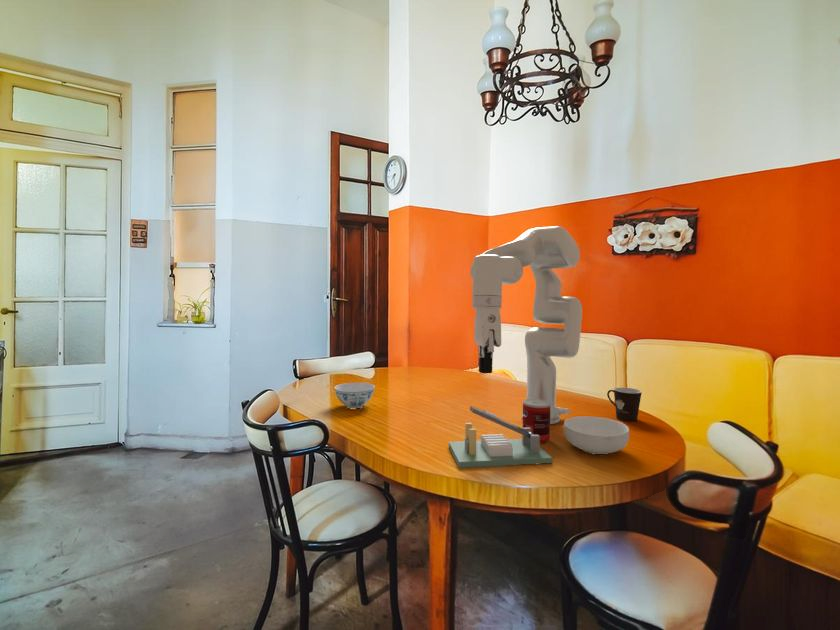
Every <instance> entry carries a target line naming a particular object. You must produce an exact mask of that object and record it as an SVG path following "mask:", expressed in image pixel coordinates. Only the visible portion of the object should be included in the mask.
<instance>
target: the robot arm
mask: <svg viewBox="0 0 840 630" xmlns="http://www.w3.org/2000/svg"><path fill="white" fill-rule="evenodd" d="M580 253H581V252H580V249H579V246H578V244H577V242H576V241H575V239H574V238H573V237H572V236H571V234H570V233H569V232H568V230H567V229H565V228H564V227H562V226H559V225H556V226H555V225H554V226H542V227H534V228H530V229H528V230H526V231H525V232H523V233H522V234H521V235H519V236H518V237H517V238H516V239H514V240H513V241H510V242H507V243H505V244H502V245H499V246H497V247H493V248H490V249H489V250H486V251H484V252H482V253H481V254H479V255H476V256H475V257H474V258H473V262H472V264H471V266H470V278H471V279H472V302H471V304H472V306H471V308H472V309H475V313H474V326H473V327H474V329H473V334H474V335H473V337H474V338H473V339H474V342H475V344H476V345H478V372H479V373H480V374H492V373H493V358H494V357H493V356H494V352H495V347H497V348H500V347H501V345H502V322H501V321H502V319H501V317H502V316H501V311H500V310H502V297H503V295H502V293H503V285H513V284H516V283H518V282H519V281H520V280H521V279H522V278H523V274H524V268H525V267H527V266H529V267H530V270H531V272H532V274H533V277H534V280H535V291H534V297H533V298H534V299H533V307H532V316H533V319H534V321H535V322H537V323H539V324H544V325H562V326H564V328H562V327H560V328H558V327H545V326H537V327H532V328H529V329H528V330H527V331H526V332H525V335H524V346H525V353H526V362H527V366H526V368H527V369H526V371H527V372H526V373H527V374H526V400H527V399H540V400H545V401H548V402H549V403H550V425H554V424H558V423H560V421H561V417H560V416H561V415H569V414H570V409H569V408H568V407H567V408H563V407H559V406H556V401H557V400H556V399H557V397H556V396H557V369H556V365H555V363H554V361H553V360H552V358H551V357H556V358H574V357H575V356H577V354H578V352H579V349H580V341H581V331H582V323H583V322H582V320H583V306H582V303H581V301H580V299H578V298H577V297H574V296H566V295H565V296H562V294H561V293H562V281H561V279H560V278H559V276H558V275H557V273H556V272H555V271H554V270H553V269H570V268H574V267H576V266H577V265H578V264H579V262H580V261H579V260H580V259H581V258H580V256H581V255H580ZM521 419H522V420H523V412H522V414H521Z"/></svg>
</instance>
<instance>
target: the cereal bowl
mask: <svg viewBox="0 0 840 630" xmlns="http://www.w3.org/2000/svg"><path fill="white" fill-rule="evenodd" d="M563 431H564V436H565V437H566V439H567V441H568V442H569V443H570V444H571V445H573V446H574V447H576V448H578V449H579V450H581V449H582V450H581V451H583V450H584V451H586V452H585V453H587V452H589V453H588V454H590V453H594V454H593V455H595V454H607V455H609V454H608V453H610V454H612V453H615V452H618V451H621V450H623V449H624V448H625V447H626V446H627V445H628V443H629V438H630V428H629V426H628V425H627V424H625V423H623V422H621V421H618V420H615V419H612V418H607V417H600V416H599V417H598V416H589V415H588V416H586V415H585V416H584V415H583V416H579V415H578V416H573V417H569V418H567V419H565V420H564V422H563ZM584 451H583V452H584Z"/></svg>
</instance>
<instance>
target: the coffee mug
mask: <svg viewBox="0 0 840 630" xmlns="http://www.w3.org/2000/svg"><path fill="white" fill-rule="evenodd" d="M611 392H612V393H613V394H614V401H613V400H612V399H611V397H610V393H611ZM606 396H607V398H608V400H609V401H610V403H611V404H612V405H613V406H614V407H615V417H616V420H619V421H623V422H627V421H628V422H629V423H633V422H637V421H638V418H639V417H638V416H639V410H640V406H641V400H642V399H641V398H642V390H640V389H638V388H632V387H614V388H613V389H609V390H608V391H607V393H606Z"/></svg>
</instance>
